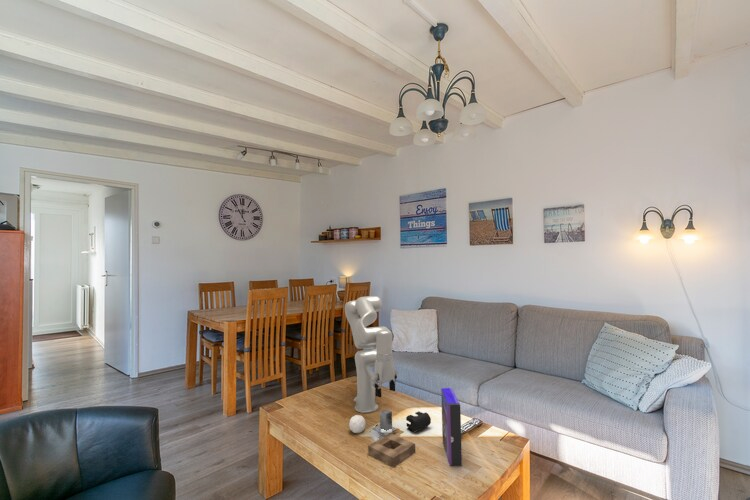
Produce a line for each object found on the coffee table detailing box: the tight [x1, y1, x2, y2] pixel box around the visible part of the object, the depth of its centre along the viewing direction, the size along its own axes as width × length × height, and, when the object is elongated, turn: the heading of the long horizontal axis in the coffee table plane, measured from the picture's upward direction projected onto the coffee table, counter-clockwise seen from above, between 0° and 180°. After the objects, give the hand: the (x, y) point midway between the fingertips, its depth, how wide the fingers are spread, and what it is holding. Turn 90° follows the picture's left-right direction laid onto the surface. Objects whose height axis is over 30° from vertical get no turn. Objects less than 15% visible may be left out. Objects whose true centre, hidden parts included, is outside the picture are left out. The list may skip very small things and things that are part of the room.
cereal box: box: [440, 387, 463, 467], centre depth 150 cm, size 17×5×24 cm, turn 178°
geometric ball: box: [348, 414, 366, 434], centre depth 170 cm, size 8×8×8 cm
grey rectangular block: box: [379, 408, 393, 431], centre depth 168 cm, size 4×4×10 cm
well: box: [367, 433, 416, 468], centre depth 151 cm, size 14×14×4 cm
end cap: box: [405, 411, 432, 434], centre depth 171 cm, size 10×7×7 cm
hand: (385, 393), depth 168 cm, fingers open, 9 cm apart
